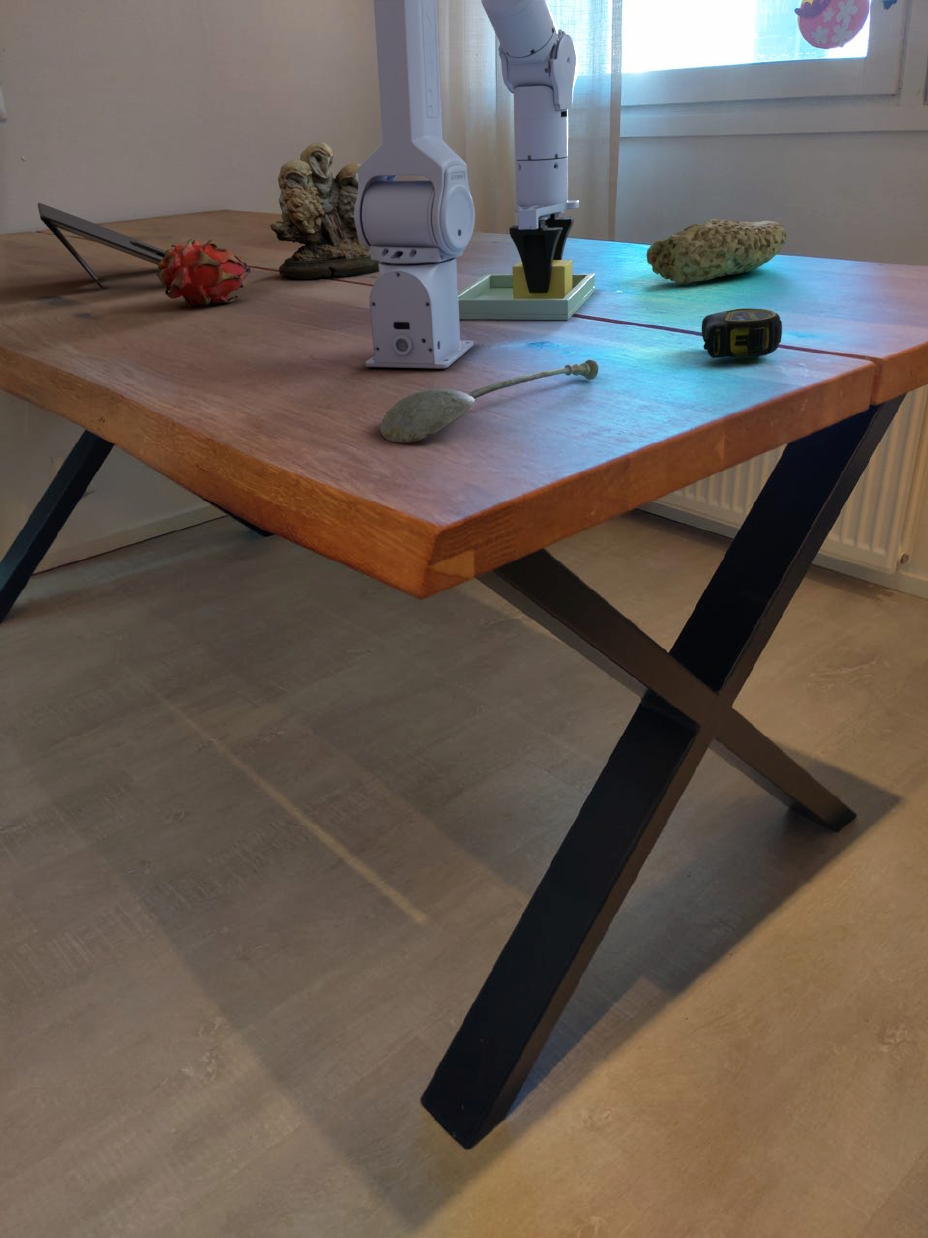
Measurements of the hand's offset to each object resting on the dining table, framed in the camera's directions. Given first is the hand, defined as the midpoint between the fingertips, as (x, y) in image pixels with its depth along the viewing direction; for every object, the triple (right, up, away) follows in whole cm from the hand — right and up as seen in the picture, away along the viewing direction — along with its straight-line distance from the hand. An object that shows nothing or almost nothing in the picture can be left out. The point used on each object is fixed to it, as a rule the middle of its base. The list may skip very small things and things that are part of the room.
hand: (543, 288), depth 115 cm
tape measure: (+15, -15, -25) cm, 33 cm away
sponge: (+24, +6, +13) cm, 27 cm away
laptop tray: (-58, +12, +33) cm, 67 cm away
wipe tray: (-2, -1, +1) cm, 3 cm away
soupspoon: (-6, -21, -36) cm, 42 cm away
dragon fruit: (-41, +2, +13) cm, 43 cm away
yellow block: (0, -1, +1) cm, 1 cm away
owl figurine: (-28, +13, +31) cm, 44 cm away
